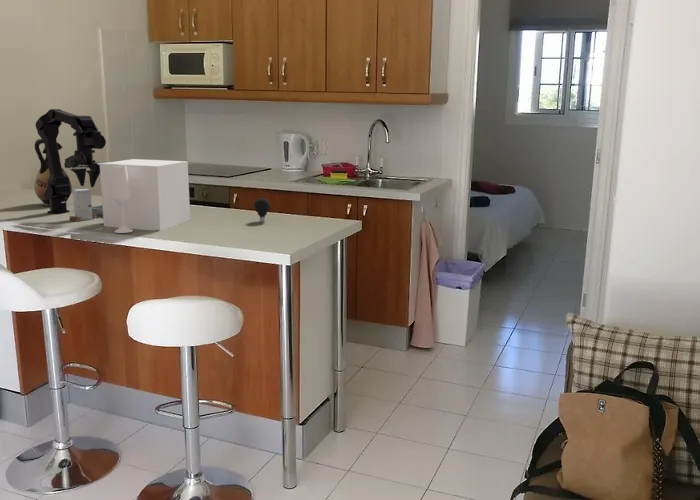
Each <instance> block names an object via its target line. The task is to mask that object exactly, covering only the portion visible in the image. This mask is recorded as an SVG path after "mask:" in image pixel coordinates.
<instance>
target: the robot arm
mask: <svg viewBox="0 0 700 500" xmlns="http://www.w3.org/2000/svg"><path fill="white" fill-rule="evenodd" d="M63 123H64V124H68V125H70V128H71V129H72V130H75V132H73V134H72V136H74V137H75V140H76V141H75V143H76V149H75V150H74V151H73V152H74V154H72V155H70V156H68V157H67V158H65V159H64V163H63V164H64V168H65V169H70V171H71V172H73V173H74V174H75V176H76V177H77V181H78V182H79V184H80V187H84V186H85V183H86V173H87V174H88V177H89V185H90V188H94V186H95V185H96V183H97V180H98V178H99V176H100V163H106V162H105V161H103V162H102V161H96V159H95V160H94V155H93V154H95V153H96V151H95V149H97V150H101V149H103V148H104V147H105V146H106V144H107V143H106V142H107V140H106V138H105V135H102V133H101V132H102V131H100V130H99V128H98V127H97V125H96V123H95V121H94V119H93V118H92V116H90V115H77V114H74V113H70V112H68V111H65V110H62V109H60V108H50V109H48V111H47V112H46V113H44V114H43V115H41V116H39V118H38V119H37V120H36V122H35V129H36V131H37V134H38V136H39V137H40V139H43V141H44V143H43V145H44V148H45V150H46V154H45V157H46V156H47V161H48V166H49V171H50V177H49V179H48V182H47V183H48V187H47V189H46V191H45V193H44V196H45V199H49V202H50V206H49V210H48V211H47V213H49V214H55V215H56V214H63V213H69V212H70V210H67V208H68V207H67V202H66V200H65V198H66V197H69V195H70V188H71V187H70V183H69V179H70V178H68V177H69V176H68V177H65V175H64V174H63V172H62V168H63V166H62V161H61V157H60V153H59V151H60V150H58V146H57V143H58V141H57V138H58V136H59V134H60V127H61V126H62V124H63ZM87 168H89V170H87ZM56 195H58V196H56ZM70 196H71V195H70ZM69 198H70V197H69Z"/></svg>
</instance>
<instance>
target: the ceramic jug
mask: <svg viewBox="0 0 700 500" xmlns="http://www.w3.org/2000/svg"><path fill="white" fill-rule="evenodd" d="M42 144H44V141H43V139H42V138H37V139H36V140H35V142H34V150H35V153H36V154H37V157H38V160H39V162H40V168H39V170H38V172H37V174H36V176H35V179H34V192H35V196H36V197H37V198H38V199H39V200H40V201H41V202H42V204H43V206H46V207H47V206H49V207H50V202H49V199H45V196H44V193H45V191H46V189H47V187H48V183H47V182H48V179H49V177H50V171H49V166H48V161H47V156H46V150H45V147H44V148H43V150H42V151H41V149H40V146H41V145H42ZM57 146H58V151H60V150H62V149H63V146H62V145H61V144H60V143H59V142H57ZM42 154H45V157H44V156H43V155H42ZM62 172H63V174H64V175H65V177H68V178H69V175H68V173H67V172H66V171H65V169H64V168H63V167H62ZM69 183H70V187H71V188H70V195H69V197H66V198H65V200H66V203H67V202H68V199H70V196H71V194H72V193H73V187H72V186H73V185H72V183H71V180H70V178H69ZM56 196H58V195H56ZM37 208H38V207H37Z"/></svg>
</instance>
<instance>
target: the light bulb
mask: <svg viewBox="0 0 700 500" xmlns="http://www.w3.org/2000/svg"><path fill="white" fill-rule="evenodd" d="M253 207H254V211H255V212H256V213H257V216H259V222H261V223H263V222H264V223H265V222H266V216H267V214H268V212H270V209H271V203H270V201H269V200H268V199H267V198H264V197H259V198H258V199H256V200H255V201H254V204H253Z"/></svg>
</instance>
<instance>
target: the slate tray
mask: <svg viewBox="0 0 700 500" xmlns="http://www.w3.org/2000/svg"><path fill="white" fill-rule="evenodd" d="M92 214H97V217H103V205H102V204H101V205H95V206H92Z"/></svg>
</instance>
